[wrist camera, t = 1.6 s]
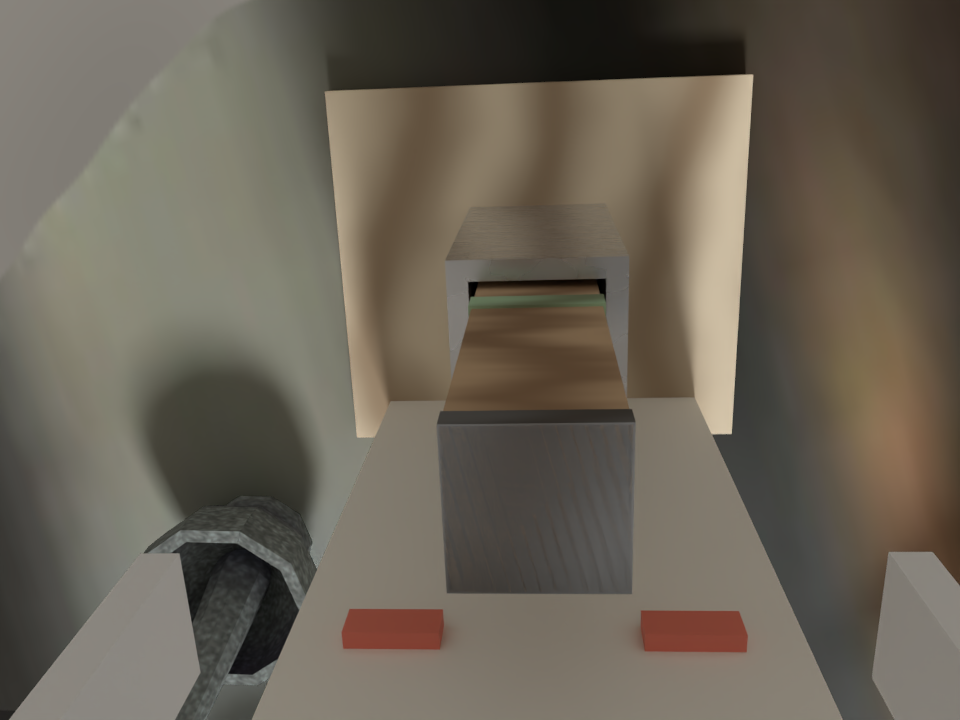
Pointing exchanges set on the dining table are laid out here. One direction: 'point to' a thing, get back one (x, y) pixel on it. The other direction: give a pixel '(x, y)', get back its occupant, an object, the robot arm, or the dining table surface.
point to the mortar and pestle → (239, 590)
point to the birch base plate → (544, 181)
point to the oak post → (537, 446)
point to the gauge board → (548, 605)
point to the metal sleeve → (539, 260)
